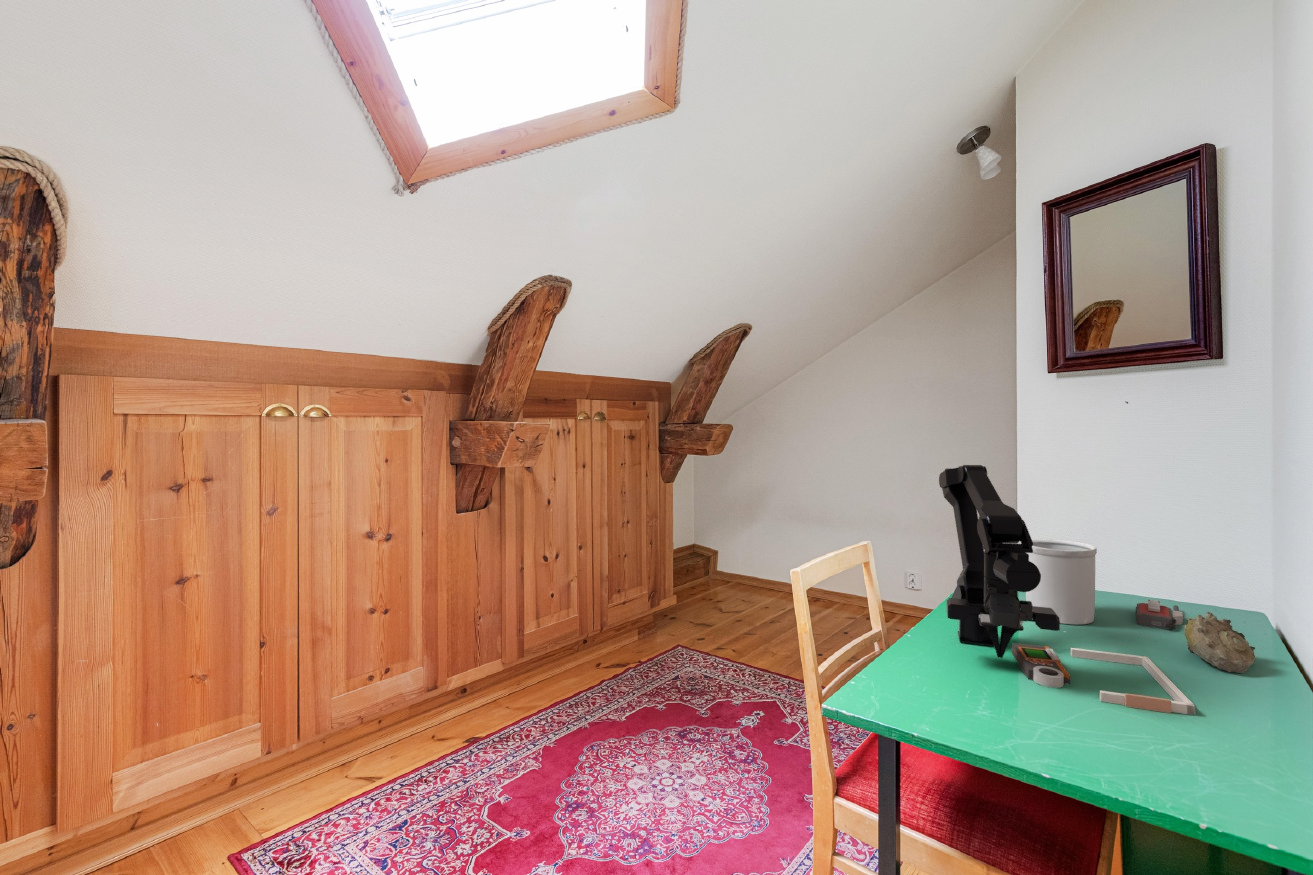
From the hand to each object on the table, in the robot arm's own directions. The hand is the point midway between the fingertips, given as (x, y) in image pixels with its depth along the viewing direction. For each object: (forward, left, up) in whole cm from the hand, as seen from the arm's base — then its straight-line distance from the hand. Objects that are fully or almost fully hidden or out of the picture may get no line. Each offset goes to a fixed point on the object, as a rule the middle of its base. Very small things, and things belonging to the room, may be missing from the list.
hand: (999, 657), depth 118 cm
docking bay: (+20, 0, -2) cm, 20 cm away
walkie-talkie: (+39, +46, -2) cm, 60 cm away
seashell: (+40, +18, -2) cm, 43 cm away
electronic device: (+7, 0, -2) cm, 7 cm away
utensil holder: (+17, +39, -2) cm, 43 cm away
